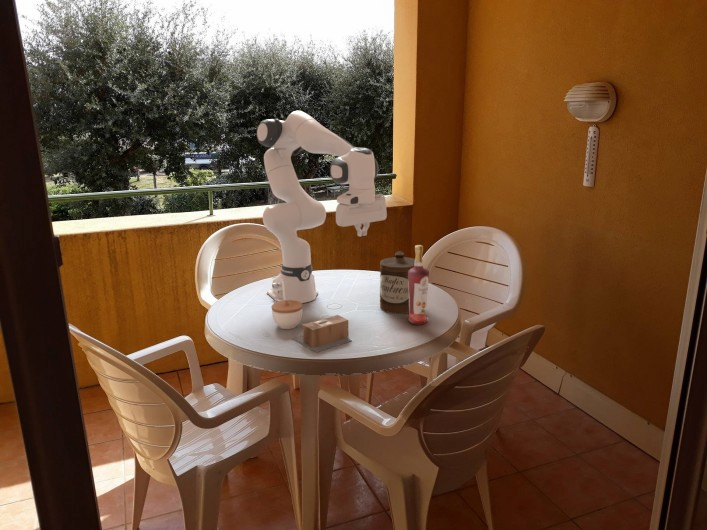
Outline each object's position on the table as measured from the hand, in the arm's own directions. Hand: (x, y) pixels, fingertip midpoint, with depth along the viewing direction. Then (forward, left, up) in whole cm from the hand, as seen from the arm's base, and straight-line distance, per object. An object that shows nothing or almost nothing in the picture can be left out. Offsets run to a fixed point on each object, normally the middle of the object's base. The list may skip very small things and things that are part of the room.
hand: (362, 235), depth 194 cm
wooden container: (0, +18, -31) cm, 36 cm away
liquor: (+16, +12, -31) cm, 37 cm away
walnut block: (+8, -15, -27) cm, 32 cm away
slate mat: (+7, -23, -31) cm, 39 cm away
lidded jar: (-11, -25, -31) cm, 41 cm away
